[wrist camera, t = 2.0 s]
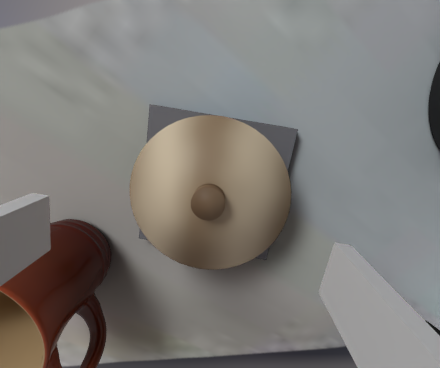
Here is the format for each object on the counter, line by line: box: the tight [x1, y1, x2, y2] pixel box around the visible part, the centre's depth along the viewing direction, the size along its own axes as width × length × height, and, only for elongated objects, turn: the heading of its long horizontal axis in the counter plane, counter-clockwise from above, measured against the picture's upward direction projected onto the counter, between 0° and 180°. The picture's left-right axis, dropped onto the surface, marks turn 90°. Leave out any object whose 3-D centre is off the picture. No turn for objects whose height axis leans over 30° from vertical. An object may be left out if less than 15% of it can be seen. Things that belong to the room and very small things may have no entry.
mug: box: [0, 219, 111, 368], centre depth 19 cm, size 12×9×10 cm
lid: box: [130, 115, 291, 269], centre depth 19 cm, size 12×12×4 cm
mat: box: [139, 104, 298, 260], centre depth 21 cm, size 12×12×1 cm
